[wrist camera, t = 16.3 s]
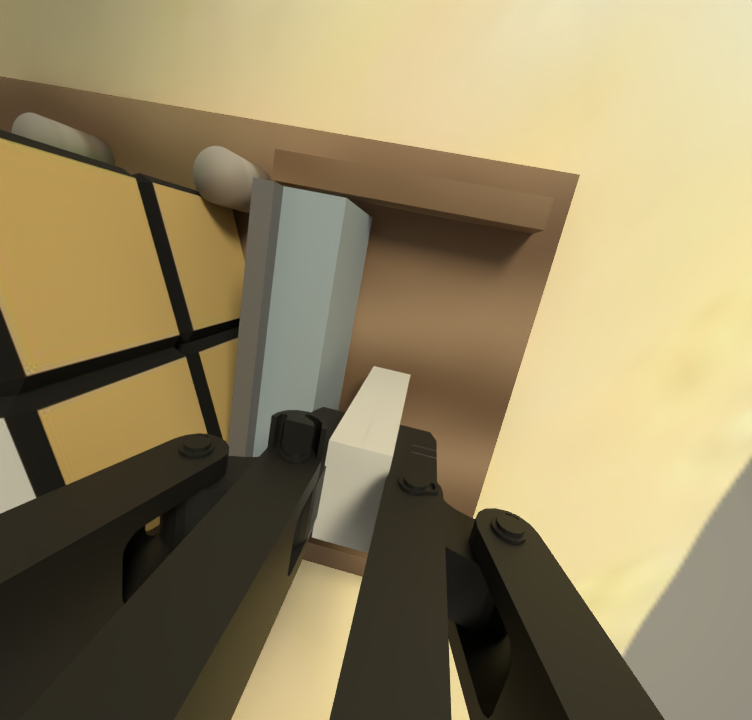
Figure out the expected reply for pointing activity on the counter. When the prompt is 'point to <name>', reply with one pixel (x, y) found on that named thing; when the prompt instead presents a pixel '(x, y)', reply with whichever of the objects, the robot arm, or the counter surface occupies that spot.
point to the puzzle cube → (107, 316)
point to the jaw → (294, 307)
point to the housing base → (384, 251)
